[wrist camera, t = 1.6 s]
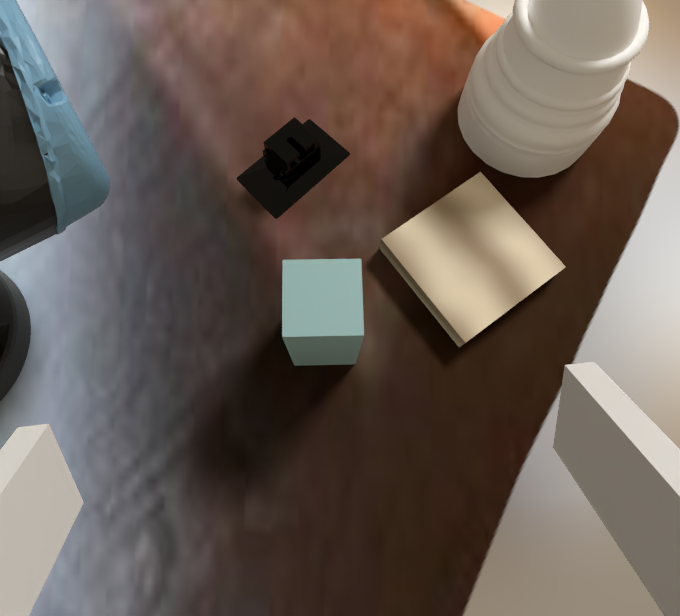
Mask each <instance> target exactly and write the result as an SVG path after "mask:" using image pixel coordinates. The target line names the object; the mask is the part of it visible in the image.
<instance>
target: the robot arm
mask: <svg viewBox="0 0 680 616" xmlns="http://www.w3.org/2000/svg"><path fill="white" fill-rule="evenodd" d="M109 189H110V181H109V177H108V174H107V172H106V170H105V167H104V166H103V164H102V162H101V160H100V158H99V156H98V154H97V152H96V150H95V148H94V146H93V144H92V142H91V140H90V139H89V137H88V135H87V133H86V131H85V129H84V127H83V125H82V124H81V122H80V120H79V118H78V116H77V114H76V112H75V110H74V109H73V107H72V105H71V103H70V101H69V99H68V98H67V96H66V94H65V92H64V90H63V88H62V86H61V84H60V82H59V80H58V78H57V76H56V75H55V73H54V71H53V69H52V67H51V65H50V63H49V61H48V59H47V57H46V55H45V53H44V52H43V50H42V48H41V46H40V44H39V42H38V40H37V38H36V36H35V35H34V33H33V31H32V29H31V27H30V25H29V23H28V22H27V20H26V18H25V16H24V14H23V12H22V10H21V9H20V7H19V5H18V3H17V1H16V0H0V261H2V260H4V259H6V258H8V257H10V256H12V255H14V254H16V253H18V252H20V251H22V250H25V249H27V248H29V247H31V246H33V245H35V244H37V243H39V242H41V241H43V240H45V239H47V238H49V237H51V236H53V235H55V234H60V233H62V232H63V231H64V230H65V229H66V227H67V226H68V225H70V224H72V223H73V222H75V221H77V220H78V219H80V218H82V217H83V216H85V215H87V214H88V213H90V212H92V211H93V210H95V209H97V208H98V207H100V206H101V205H102V204H103V203H104V201H105V199H106V198H107V196H108V194H109ZM30 334H31V326H30V316H29V311H28V308H27V305H26V302H25V299H24V297H23V295H22V293H21V292H20V290H19V289H18V287H17V286H16V284H15V283H14V282H13V281H12V280H11V279H10V278H9V277H8V276H7V275H6V274H5V273H3V272H2V271H0V400H1V399H2V398H3V397H4V396H5V394H6V393H7V392H8V391H9V389H10V388H11V387H12V385H13V384H14V382H15V380H16V379H17V377H18V375H19V373H20V371H21V369H22V367H23V364H24V362H25V359H26V356H27V352H28V348H29V343H30ZM553 447H554V449H555V451H556V452H557V454H558V455H559V456H560V458H561V460H562V461H563V463H564V464H565V466H566V467H567V469H568V470H569V472H570V473H571V475H572V476H573V478H574V479H575V481H576V482H577V484H578V485H579V487H580V488H581V490H582V491H583V493H584V494H585V496H586V498H587V499H588V501H589V502H590V504H591V505H592V506H593V508H594V510H595V511H596V513H597V514H598V516H599V517H600V519H601V520H602V522H603V523H604V525H605V526H606V528H607V529H608V531H609V532H610V534H611V535H612V537H613V538H614V540H615V542H616V543H617V544H618V546H619V548H620V549H621V550H622V552H623V554H624V555H625V557H626V558H627V560H628V561H629V563H630V564H631V566H632V567H633V569H634V570H635V572H636V573H637V575H638V576H639V578H640V580H641V581H642V582H643V584H644V586H645V587H646V589H647V590H648V592H649V593H650V595H651V596H652V598H653V599H654V601H655V602H656V604H657V605H658V607H659V608H660V610H661V611H662V613H663V614H664V616H680V449H679V448H678V447H677V446H676V445H675V444H674V443H673V442H672V441H671V440H670V439H669V438H668V437H667V436H666V435H665V434H664V433H663V432H662V431H661V430H660V429H659V428H658V427H657V426H656V425H655V424H654V422H653V421H652V420H651V419H649V417H648V416H647V415H646V414H645V413H644V412H643V411H642V410H641V409H640V408H639V407H638V406H637V405H636V404H635V403H634V402H633V401H632V400H631V399H630V398H629V397H628V396H627V395H626V394H625V393H624V392H623V391H622V390H621V389H620V388H619V387H618V386H617V385H616V384H615V383H614V382H613V381H612V380H611V379H610V378H609V377H608V376H607V374H605V372H604V371H602V369H601V368H600V367H599V366H598V365H597V364H596V363H595V362H588V363H580V364H571V365H565V368H564V375H563V382H562V389H561V396H560V403H559V410H558V417H557V424H556V431H555V438H554V445H553ZM83 503H84V502H83V500H82V498H81V496H80V493H79V491H78V489H77V487H76V484H75V482H74V480H73V477H72V475H71V473H70V471H69V468H68V466H67V464H66V462H65V459H64V457H63V455H62V453H61V450H60V448H59V446H58V443H57V441H56V439H55V437H54V434H53V432H52V430H51V428H50V425H49V424H42V425H33V426H24V427H17V429H16V430H15V431H14V433H13V434H12V435H11V437H10V438H9V439H8V441H7V442H6V443H5V445H4V446H3V447H2V448H1V450H0V616H29V615H30V612H31V610H32V608H33V606H34V604H35V602H36V600H37V598H38V596H39V594H40V592H41V590H42V588H43V586H44V583H45V581H46V579H47V577H48V575H49V573H50V571H51V569H52V567H53V565H54V563H55V561H56V559H57V557H58V555H59V552H60V550H61V548H62V546H63V544H64V542H65V540H66V538H67V536H68V534H69V532H70V530H71V528H72V526H73V523H74V521H75V519H76V517H77V515H78V513H79V511H80V509H81V507H82V505H83Z"/></svg>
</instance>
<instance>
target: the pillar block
mask: <svg viewBox="0 0 680 616" xmlns="http://www.w3.org/2000/svg"><path fill="white" fill-rule="evenodd" d="M363 337H364V321H363V294H362V267H361V259H314V260H283V282H282V338H283V340H284V343H285V345H286V347H287V350H288V352H289V354H290V357H291V359H292V361H293V364H294V366H300V365H350V364H355V363H356V360H357V357H358V353H359V350H360V347H361V344H362V340H363Z"/></svg>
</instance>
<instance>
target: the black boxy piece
mask: <svg viewBox="0 0 680 616" xmlns="http://www.w3.org/2000/svg"><path fill="white" fill-rule="evenodd" d="M264 146H265V149H264V150H263V155H264V156H263V157H262V158H260V159H259V160H258V161H257V162H256V163H254V164H253V165H252V166H251V167H249V168H248V169H247V170H246V171H244V172H243V173H242V174H241V175H240V176H238V177H237V180H238V181H239V182H240V183H241V184H242V185H243V186H244V187H245V188H246V189H247V190H248V191H249V192H250V193H251V194H252V195H253V196H254V197H255V198H256V199H257V200H258V201H259V202H260V204H261V205H262V206H263V207H264V208H265V209H266V210H267V211H268V212H269V213H270V214H271V215H272V216H273V217H274V218H276V219H277V218H278V217H280V216H281V215H282V214H283V213H284V212H285V211H286V210H288V209H289V208H290V207H291V206H292V205H293V204H294V203H296V202H297V201H298V200H299V199H300V198H301V197H302V196H303V195H305V194H306V193H307V192H308V191H309V190H310V189H311V188H313V187H314V186H315V185H316V184H317V183H318V182H319V181H321V180H322V179H323V178H324V177H325V176H326V175H327V174H329V173H330V172H331V171H332V170H333V169H334V168H335V167H336V166H338V165H339V164H340V163H341V162H342V161H343V160H344V159H346V158H347V157H348V156H349V155H350V153H349V152H348V151H347V150H346V149H344V148H343V147H342V146H341V145H340V144H339V143H337V142H336V141H335V140H334V139H333V138H331V137H330V136H329V135H328V134H327V133H326V132H324V131H323V130H322V129H321V128H320V127H319V126H317V125H316V124H315V123H314V122H313V121H311V120H310V119H309V120H307V121H306V122H305V123H304V124H301V123H300V122H299V121H298V120H297V119H296V118H293V119H292V120H290V121H289V122H288V123H287V124H286V125H284V126H283V127H282V128H281V129H279V130H278V131H277V132H276V133H275V134H273V135H272V136H271V137H270V138H268V139H267V140H266V141H265V142H264Z"/></svg>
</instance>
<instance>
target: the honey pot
mask: <svg viewBox="0 0 680 616" xmlns="http://www.w3.org/2000/svg"><path fill="white" fill-rule="evenodd" d="M648 29H649V20H648V14H647V9H646V7H645V5H644V3H643V0H515V3H514V6H513V12H512V13H511V14H510V15H509V16H508V17H507V18H506V20H505V21H504V23H503V24H502V25H501V26H500V27H499V28H498V30H497V31H496V32H495V33H494V34H493V35H492V36H491V37H489V38H488V39H487V40H486V42H485V43H484V45H483V46H482V48H481V49H480V51H479V52H478V54H477V55H476V57H475V60H474V63H473V65H472V68H471V70H470V73H469V75H468V78H467V81H466V83H465V86H464V89H463V91H462V94H461V97H460V101H459V105H458V124H459V127H460V130H461V133H462V136H463V138H464V140H465V141H466V143H467V144H468V146H469V147H470V149H471V150H472V151H473V153H474V154H476V155H477V156H478V157H479V158H480V159H481V160H483V161H484V162H485V163H486V164H488V165H489V166H491V167H493V168H495V169H497V170H499V171H501V172H503V173H507V174H510V175H514V176H518V177H532V178H539V177H544V176H549V175H553V174H556V173H558V172H560V171H562V170H564V169H566V168H568V167H570V166H571V165H572V164H573V163H574V162H575V161H576V160H577V159H578V158H579V157H580V156H581V155H582V154H583V153H584V152H585V151H586V149H587V148H588V147H589V146H590V145H591V144H592V143H593V141H594V140H595V139H596V138H597V137H598V136H599V134H600V133H601V132H602V131H603V129H604V128H605V127H606V126H607V125H608V124H609V122H610V120H611V118H612V117H613V115H614V113H615V111H616V109H617V107H618V105H619V100H620V94H621V92H622V90H623V88H624V83H625V81H626V79H627V77H628V75H629V72H630V65H631V60H632V59H633V58H634V57H635V56H637V55H638V54H639V53H640V51H641V49H642V47H643V45H644V43H645V41H646V39H647V35H648Z"/></svg>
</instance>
